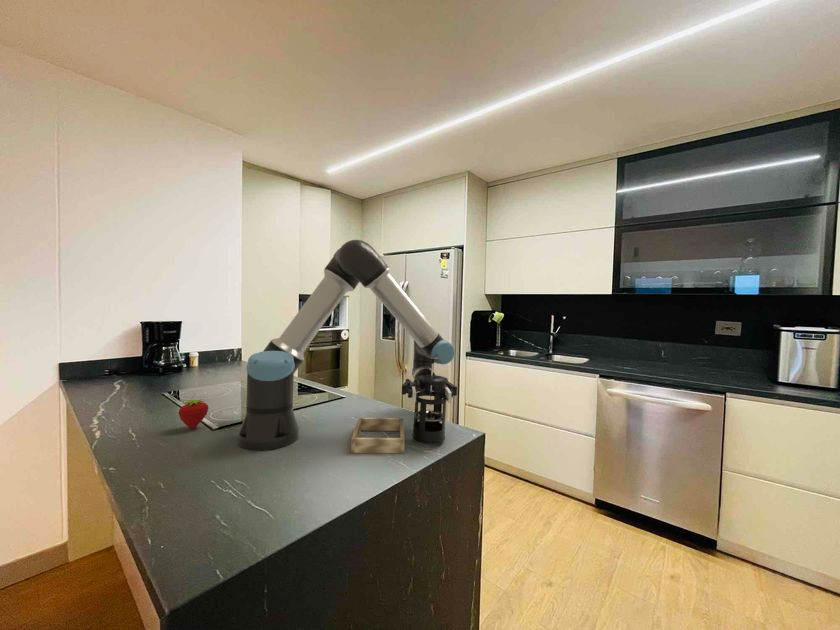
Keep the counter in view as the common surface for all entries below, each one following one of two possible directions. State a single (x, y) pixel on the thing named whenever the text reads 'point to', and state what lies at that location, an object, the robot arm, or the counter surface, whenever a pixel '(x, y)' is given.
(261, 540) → the counter surface
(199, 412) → the strawberry
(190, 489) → the counter surface
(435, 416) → the french press
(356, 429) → the wooden frame
